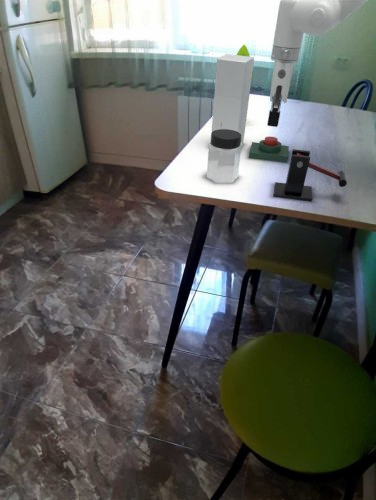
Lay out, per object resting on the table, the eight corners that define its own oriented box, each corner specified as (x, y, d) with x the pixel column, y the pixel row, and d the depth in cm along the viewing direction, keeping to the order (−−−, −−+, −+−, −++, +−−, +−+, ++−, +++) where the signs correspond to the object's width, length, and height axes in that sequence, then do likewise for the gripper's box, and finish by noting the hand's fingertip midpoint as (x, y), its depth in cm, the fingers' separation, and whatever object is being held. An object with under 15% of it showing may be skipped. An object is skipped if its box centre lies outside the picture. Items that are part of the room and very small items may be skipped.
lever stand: (310, 190, 114) (320, 150, 106) (311, 203, 108) (322, 161, 100) (274, 186, 115) (282, 146, 107) (273, 198, 109) (281, 156, 102)
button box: (287, 152, 135) (290, 140, 132) (286, 164, 127) (289, 150, 125) (251, 148, 136) (252, 136, 133) (248, 159, 129) (250, 146, 126)
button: (276, 143, 130) (278, 137, 129) (276, 147, 127) (277, 141, 126) (264, 141, 131) (265, 135, 130) (263, 145, 128) (264, 140, 127)
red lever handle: (341, 179, 109) (346, 171, 107) (343, 189, 105) (348, 180, 103) (292, 158, 108) (297, 149, 106) (292, 167, 104) (297, 158, 102)
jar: (243, 181, 116) (249, 136, 108) (220, 187, 113) (225, 141, 105) (223, 170, 122) (227, 126, 113) (201, 175, 118) (204, 131, 110)
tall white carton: (209, 149, 134) (216, 58, 117) (218, 141, 140) (226, 53, 123) (235, 153, 132) (246, 62, 115) (243, 145, 138) (254, 57, 121)
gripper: (298, 60, 107) (284, 134, 120) (299, 50, 118) (285, 119, 130) (270, 57, 108) (258, 131, 121) (272, 48, 119) (261, 117, 131)
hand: (272, 125), depth 125 cm, fingers closed
